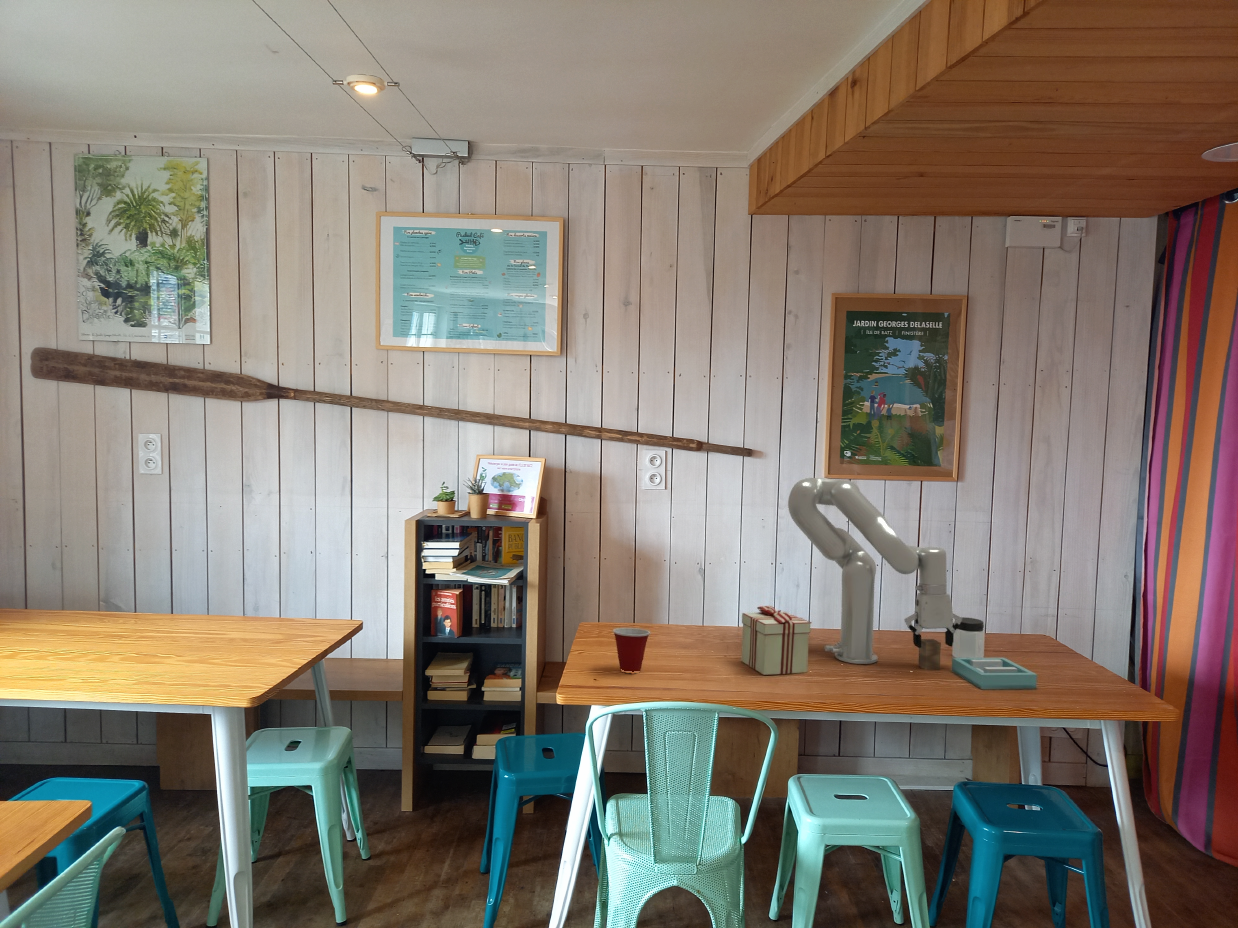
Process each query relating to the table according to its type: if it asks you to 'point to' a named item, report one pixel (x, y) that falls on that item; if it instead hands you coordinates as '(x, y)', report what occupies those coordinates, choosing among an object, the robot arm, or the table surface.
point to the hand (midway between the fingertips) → (933, 645)
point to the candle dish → (994, 673)
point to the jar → (969, 639)
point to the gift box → (775, 641)
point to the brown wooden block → (929, 654)
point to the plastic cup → (631, 647)
